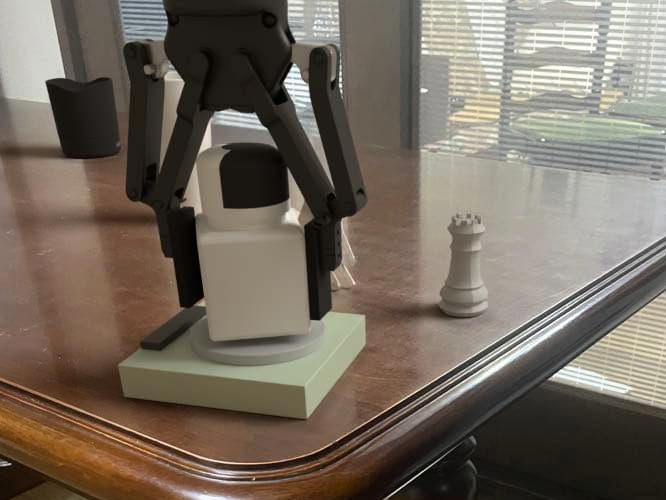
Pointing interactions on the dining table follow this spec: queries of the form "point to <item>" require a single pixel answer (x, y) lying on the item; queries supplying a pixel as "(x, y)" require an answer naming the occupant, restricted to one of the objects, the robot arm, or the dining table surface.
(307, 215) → the white angular pronged piece
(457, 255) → the rook chess piece
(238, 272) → the medicine bottle
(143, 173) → the robot arm
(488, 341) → the dining table surface
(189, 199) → the drinking glass
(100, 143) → the pen holder
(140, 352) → the scale
